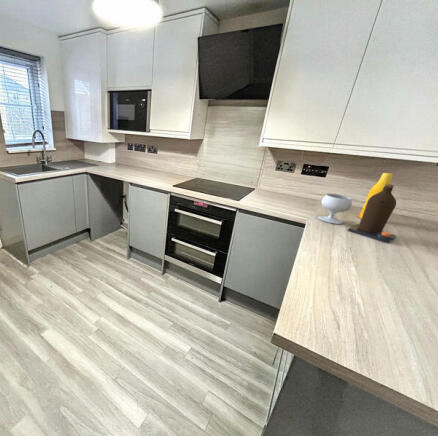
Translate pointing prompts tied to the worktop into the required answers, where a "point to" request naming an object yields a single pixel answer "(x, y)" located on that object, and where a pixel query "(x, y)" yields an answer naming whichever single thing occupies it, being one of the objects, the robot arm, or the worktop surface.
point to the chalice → (335, 206)
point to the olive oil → (378, 210)
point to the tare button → (386, 234)
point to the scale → (372, 234)
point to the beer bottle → (377, 188)
